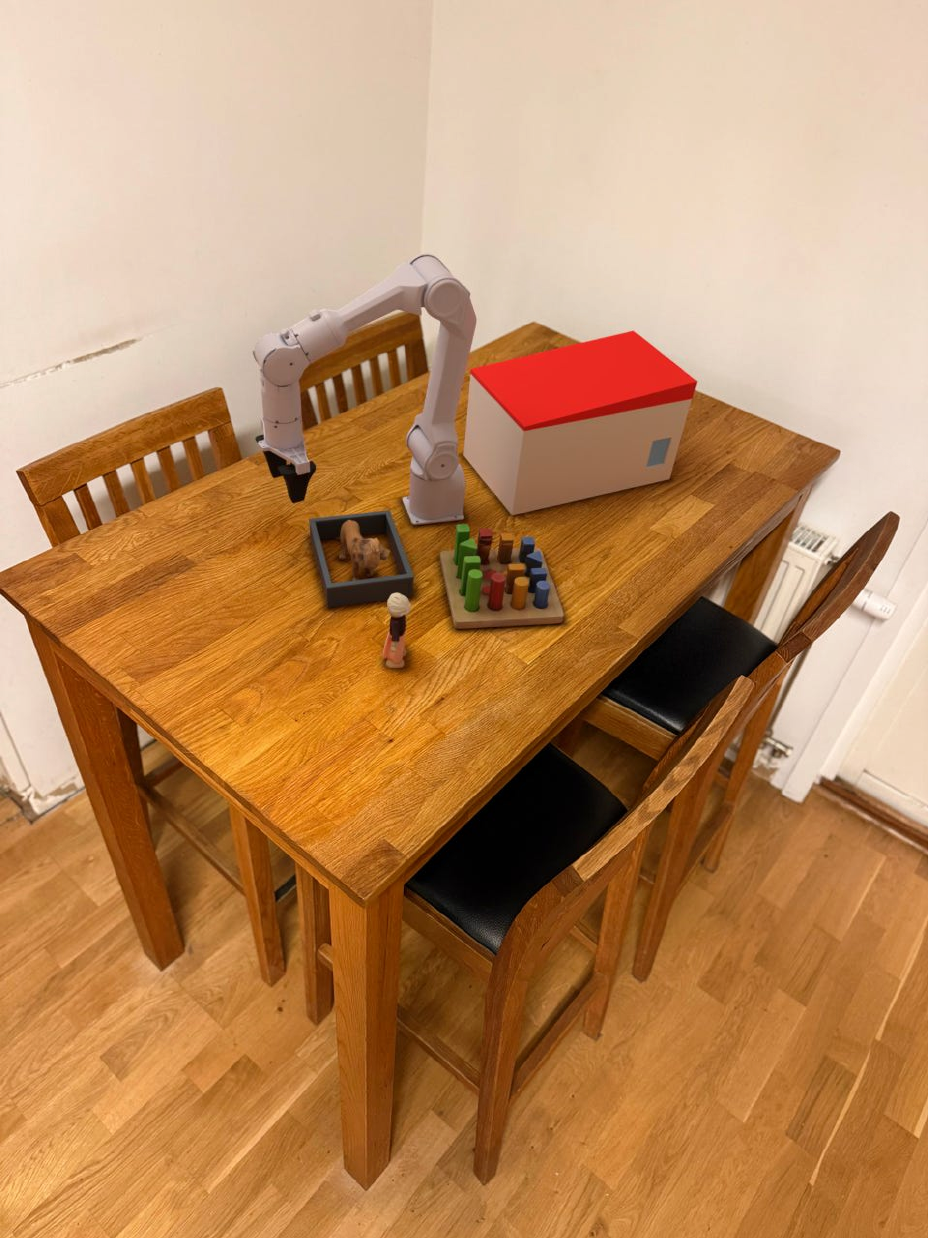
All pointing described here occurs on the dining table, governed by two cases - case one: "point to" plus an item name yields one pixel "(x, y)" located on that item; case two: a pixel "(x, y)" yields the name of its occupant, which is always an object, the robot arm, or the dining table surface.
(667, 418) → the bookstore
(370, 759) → the dining table surface
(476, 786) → the dining table surface
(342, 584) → the crate
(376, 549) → the lion figurine
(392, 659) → the grandmother figurine
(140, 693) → the dining table surface
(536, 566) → the peg board
